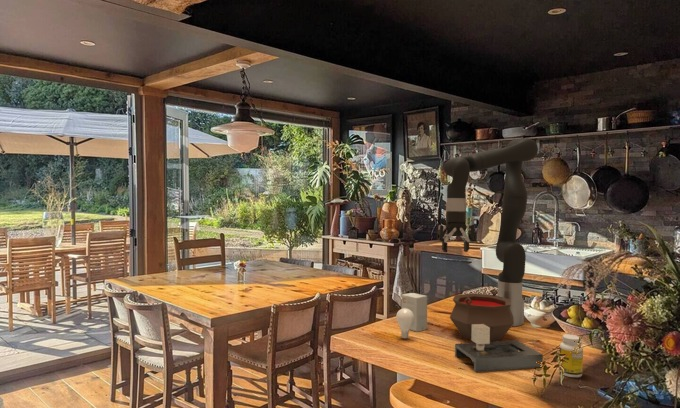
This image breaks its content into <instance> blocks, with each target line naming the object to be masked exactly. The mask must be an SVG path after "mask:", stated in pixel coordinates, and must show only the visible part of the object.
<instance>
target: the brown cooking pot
mask: <svg viewBox="0 0 680 408" xmlns="http://www.w3.org/2000/svg"><path fill="white" fill-rule="evenodd" d="M494 292H495V293H494ZM490 293H491V294H484V293H473V292H472V293H465V294H464V293H463V294H455V295H454V296H453V298H452V301H453V302H454V307H453V309H452V311H451V313H450V316H449V319H450V320H451V322H452V323H453V325H454V326H455V328H456V329H457V331H458V332H459V333H460V335H461V337H462V338H466V339H467V340H469V341H472V340H471V334H472V324H484V325H486V326H488V327H490V342H494V341H502V339H503V338H504V336H505V335H506V334H507V333H508V332H509V330H510V329H511V328H512V327H513V326H512V325H513V324H514V317H513V315H512V312H511V310H510V306H511V300H510V299H507V298H503V297H500V296H498V290H496V288H493V289H492V290H491V291H490Z"/></svg>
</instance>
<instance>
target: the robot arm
mask: <svg viewBox="0 0 680 408" xmlns="http://www.w3.org/2000/svg"><path fill="white" fill-rule="evenodd" d="M538 152H539V147H538V144H537V142H536V141H535V140H533V139H532V138H517V139H513V140H510V141H509V142H508V144H507V146H504V147H501V148H500V147H499V148H494V149H487V150H484V151H482V150H481V151H479V152H476V153H472V154H469V155H465V156H458V157H453V158H450V159H448V160H446V162H445V163H444V165H443V170H444V173H445V174H446V175H447V176H449V177H451V178H452V180H451V182H450V183H448V184H447V186H446V188H447V189H446V203H445V205H446V206H445V225H442V224H438V226H437V236H436V240H437V241H439V242H441V250H442V251H443V253H448V241H449V240H450V239H451V237H460V238H462V240H463V252H464V253H468V251H469V250H470V242H472V241H474V240H475V231H474V230H475V229H474V225H472V224H468V225H467V200H466V197H467V196H466V195H467V194H466V193H467V189H466V188H467V184H468V181H469V177H470V173H472V172H480V171H484V170H488V169H490V168H494V167H497V166H500V165H504V164H505V175H504V176H505V177H504V189H503V196H502V204H501V205H502V207H501V217H500V226H499V233H498V236H497V237H498V238H497V241H496V242H497V243H496V247H495V256H496V258H497V260H498V261H499V262H501V263H503V266H502V270H501V272H499V273H498V278H497V279H498V280H497V282H498V283H497V287H498V288H497V292H498V293H497V296H500V297H503V298H507V299H510V300H511V306H510V310H511V312H512V315H513V317H514V324H513V325H512V326H511V327H520V326H521V325H524V324H525V301H524V300H523V278H524V277H525V273H526V257H527V256H526V250H525V247H524V246H523V245H522V244H520V243H519V242H517V233H518V232H517V231H518V229H519V226H520V224H521V222H522V220H523V218H524V216H525V213H526V210H527V204H528V191H527V188H526V184H525V181H524V180H523V175H522V169H523V162H529V161H532V160H534V158H536V157H537V155H538ZM445 230H446V232H445V233H444V231H445ZM466 231H467V233H466Z"/></svg>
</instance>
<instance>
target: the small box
mask: <svg viewBox="0 0 680 408" xmlns="http://www.w3.org/2000/svg"><path fill="white" fill-rule="evenodd" d="M403 308H407V309H409V310H411V311H412V313H413V315H414V320H413V323H412V324H411V326H410V329H409V331H413V332H421V331H424V330H427V329H428V295H424V294H420V293H414V292H409V293H403V294H401V309H403Z"/></svg>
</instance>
